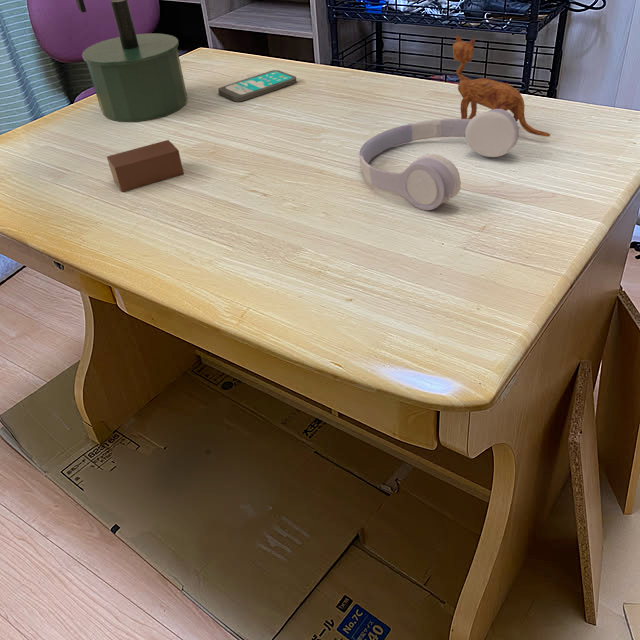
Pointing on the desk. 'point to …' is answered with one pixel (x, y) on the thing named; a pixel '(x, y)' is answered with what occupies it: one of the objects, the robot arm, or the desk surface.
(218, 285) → the desk surface
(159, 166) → the chocolate bar
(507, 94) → the cat figurine
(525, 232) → the desk surface
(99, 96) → the trash tin
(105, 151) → the desk surface
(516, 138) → the headphones
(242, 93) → the smartphone
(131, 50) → the tin lid
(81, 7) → the robot arm
